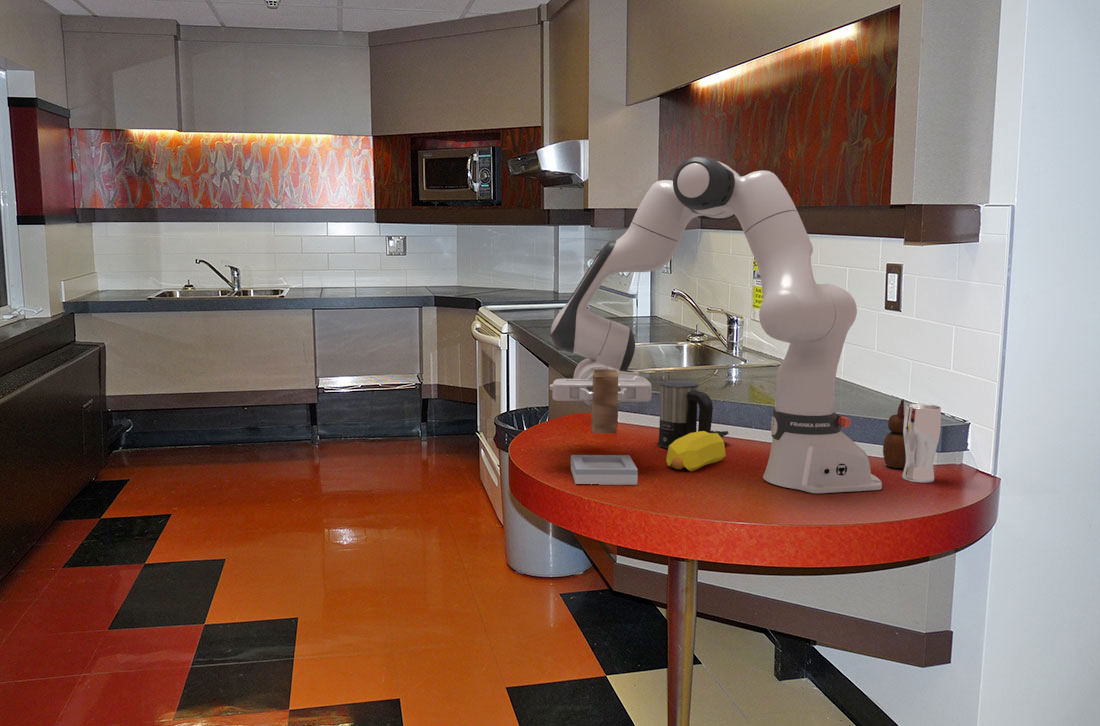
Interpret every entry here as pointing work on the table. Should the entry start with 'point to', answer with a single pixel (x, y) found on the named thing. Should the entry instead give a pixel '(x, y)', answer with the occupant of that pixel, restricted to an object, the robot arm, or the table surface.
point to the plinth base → (604, 469)
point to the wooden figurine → (895, 440)
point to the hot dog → (695, 450)
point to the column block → (605, 401)
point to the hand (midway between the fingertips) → (605, 397)
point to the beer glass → (920, 441)
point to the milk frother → (683, 411)
